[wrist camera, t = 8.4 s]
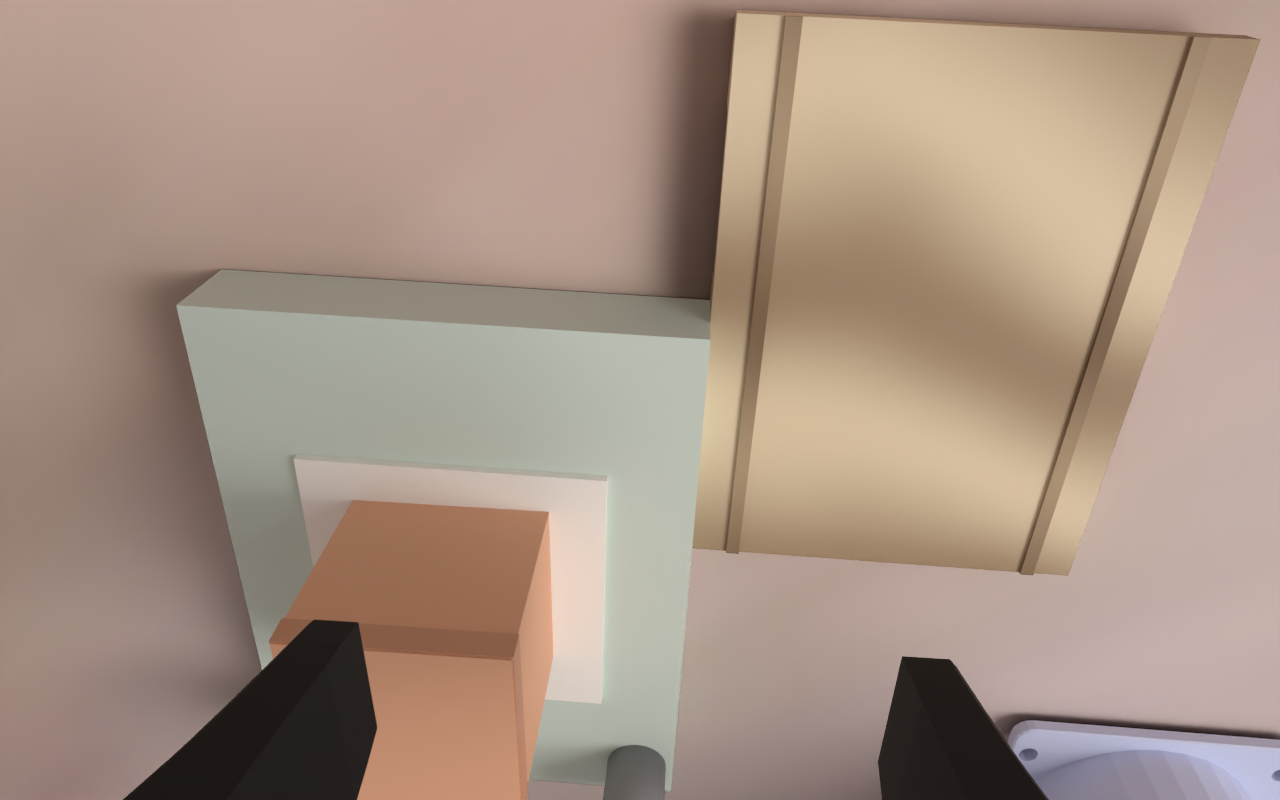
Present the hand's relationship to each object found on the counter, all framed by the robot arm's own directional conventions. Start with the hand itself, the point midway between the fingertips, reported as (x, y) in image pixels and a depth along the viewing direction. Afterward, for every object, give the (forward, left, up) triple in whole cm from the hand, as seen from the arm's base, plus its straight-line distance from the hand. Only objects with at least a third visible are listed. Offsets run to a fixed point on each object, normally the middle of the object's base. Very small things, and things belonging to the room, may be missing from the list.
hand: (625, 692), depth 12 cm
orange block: (-5, +4, -8) cm, 10 cm away
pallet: (+1, -6, -10) cm, 11 cm away
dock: (-6, +4, -10) cm, 12 cm away
